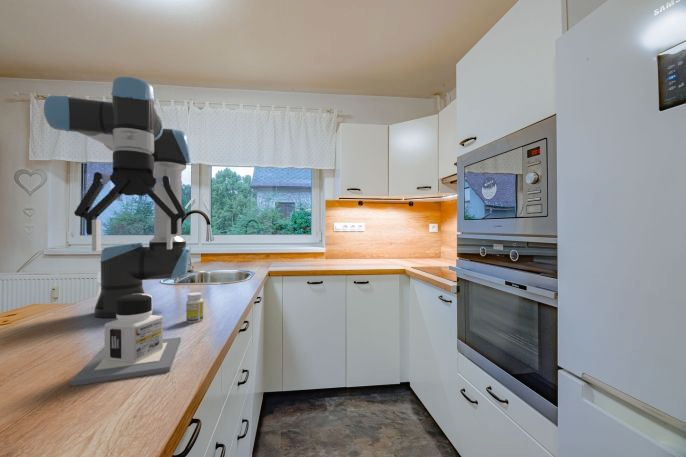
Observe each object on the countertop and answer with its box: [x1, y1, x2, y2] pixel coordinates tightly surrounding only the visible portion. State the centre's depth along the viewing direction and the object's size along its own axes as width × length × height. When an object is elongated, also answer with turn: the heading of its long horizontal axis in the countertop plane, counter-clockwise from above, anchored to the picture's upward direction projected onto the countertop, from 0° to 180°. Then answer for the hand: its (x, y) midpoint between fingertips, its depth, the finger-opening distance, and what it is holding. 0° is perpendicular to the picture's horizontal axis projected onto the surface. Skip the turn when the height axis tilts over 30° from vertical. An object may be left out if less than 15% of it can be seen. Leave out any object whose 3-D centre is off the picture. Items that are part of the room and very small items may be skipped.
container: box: [104, 293, 164, 363], centre depth 68 cm, size 8×8×13 cm
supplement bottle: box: [185, 291, 204, 324], centre depth 97 cm, size 5×5×8 cm
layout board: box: [70, 336, 181, 387], centre depth 68 cm, size 18×16×1 cm
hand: (134, 250), depth 68 cm, fingers open, 13 cm apart
